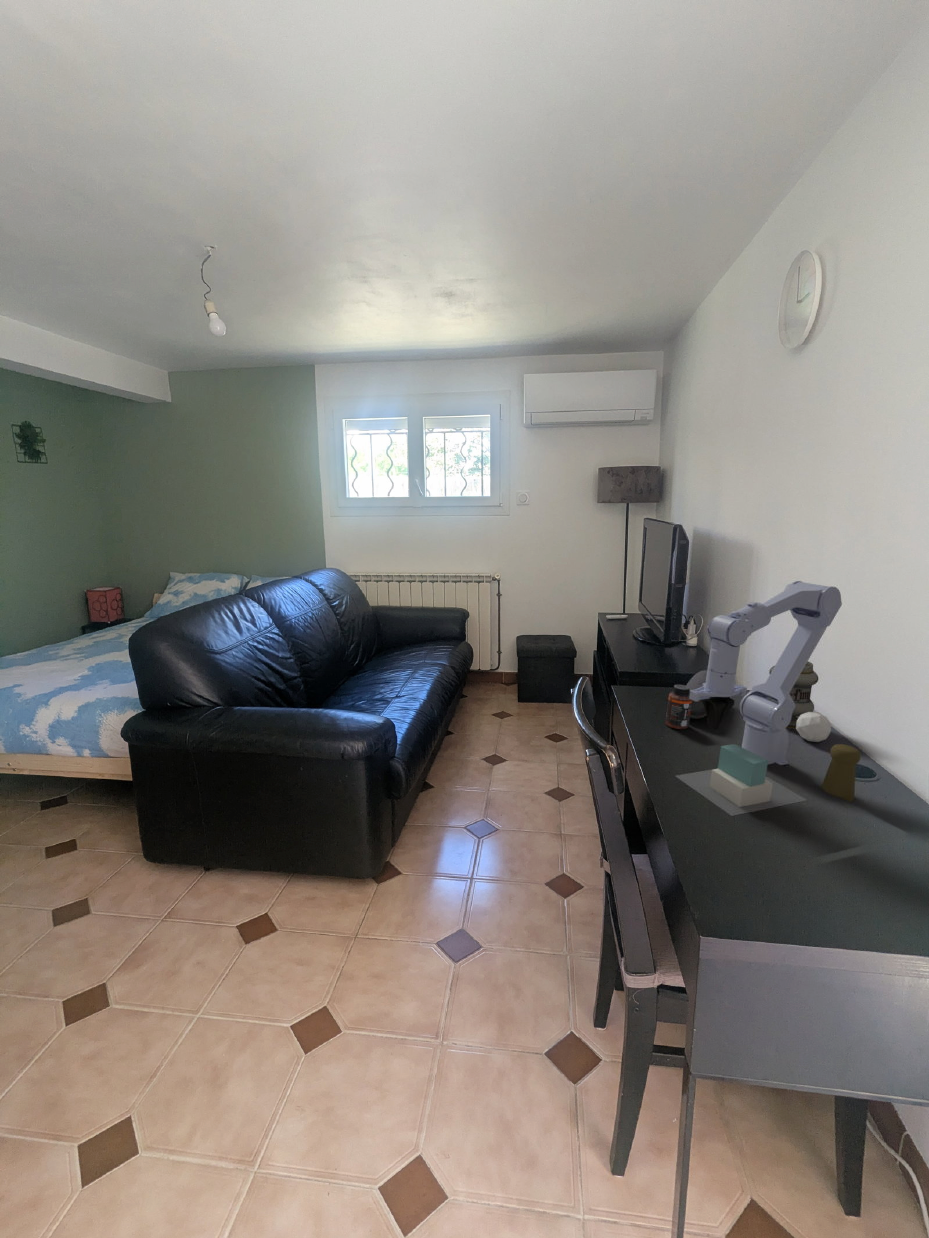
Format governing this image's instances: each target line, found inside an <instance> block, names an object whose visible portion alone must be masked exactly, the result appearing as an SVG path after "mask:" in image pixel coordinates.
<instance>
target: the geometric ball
mask: <svg viewBox="0 0 929 1238" xmlns="http://www.w3.org/2000/svg"><path fill="white" fill-rule="evenodd" d="M831 729H832V723H831V722H830V720H829V719H828V717H827V716H825V715H824V714H822V713H820V712H818V711H813V712H807V713H804V714H801V715H800V716H798V720H797V723H796V729H795V730H796V731H797V732H798V734H799V736H800V737H801V738H803V739H805V740H806V741H808V742H815V743H820V742H823V741H824V740H827V739H828V737H829V735H830V734H831V731H832V730H831Z"/></svg>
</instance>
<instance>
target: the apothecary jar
mask: <svg viewBox="0 0 929 1238" xmlns="http://www.w3.org/2000/svg"><path fill="white" fill-rule="evenodd" d="M774 667H775V665H773V666H772V667H771V668H770V669H769V670H768V673H769V675H770V674H771V672H772V670H773V669H774ZM818 682H819V676H818V674H817V673H816V672H815V671H814V664H813V663H812V662H811V661H809V660H808V661H807V663H806V665H805V667H804V668H803V670H802V672H801V674H800V675H799V677H798V679H797V681H796V682H795V684H794V686H793V688H792V689H791V691H790V693H789V694H790V696H791V698H792V700H793V701H794V703H795V708H794V710H793V713H792V717H791V721H790V723H789V725H788V726H787V727H786V729H791V728H793V729H792V730H796V723H797V720H798V718H799V717H800V715H801V714H804V713H807V712H814V710H815V703H814V702H813V701H812V700H811V696H812V689H813V688H812V687H813V686H814V685H816V684H817V683H818ZM767 699H770V698H767ZM770 700H772V699H770ZM772 701H775V700H772ZM775 702H777V701H775ZM777 703H779V702H777Z"/></svg>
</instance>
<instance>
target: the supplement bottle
mask: <svg viewBox="0 0 929 1238" xmlns="http://www.w3.org/2000/svg"><path fill="white" fill-rule="evenodd" d="M689 690H690V688H689V687H688V686H686V685H685V684H674V686H673V691H671V692H670V693H669V694H668V698H667V699H668V700H667V709H666V714H665V715H666V717H665V725H666V726H667V727H670V728H672V729H675V730H686V729H688V728H689V725H690V719H691V717H690V712H691V705H692V700H691V699H689V696H690V694H689Z"/></svg>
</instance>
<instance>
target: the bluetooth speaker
mask: <svg viewBox="0 0 929 1238" xmlns="http://www.w3.org/2000/svg"><path fill="white" fill-rule="evenodd" d="M706 677H707V669H706V670H705V669H704V670H700V671H698V672H697V673H695V674H694V675H693V676H692V677H691V678H690V679H689V681H688V682H687V684H686V685H685V686H688V687H689V688H690V690H695V689H698V688H700V687H702V686H703V683H706ZM690 690H689V694H690ZM704 717H707V716H706V711H705V708H704V705H703V703H702V701H701V700H699V701H694V700H692V705H691V712H690V719H691V718H692V719H698V720H699V719H702V718H704Z"/></svg>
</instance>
